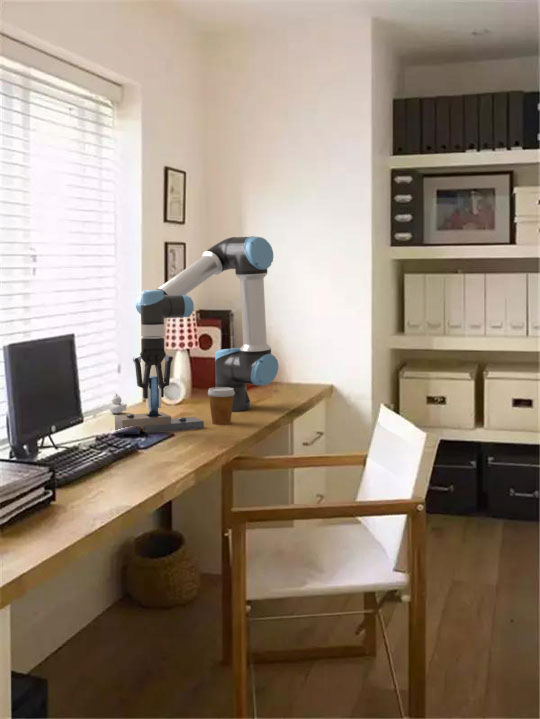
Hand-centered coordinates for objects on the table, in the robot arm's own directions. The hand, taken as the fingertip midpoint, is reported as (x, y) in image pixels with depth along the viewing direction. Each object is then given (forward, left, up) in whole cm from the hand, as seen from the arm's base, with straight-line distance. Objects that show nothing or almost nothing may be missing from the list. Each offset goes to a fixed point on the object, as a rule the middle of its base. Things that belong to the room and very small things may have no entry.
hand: (153, 407), depth 289 cm
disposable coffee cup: (-25, -2, -8) cm, 26 cm away
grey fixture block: (-2, 0, -8) cm, 8 cm away
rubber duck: (+2, -36, -8) cm, 37 cm away
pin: (0, 0, -4) cm, 4 cm away
